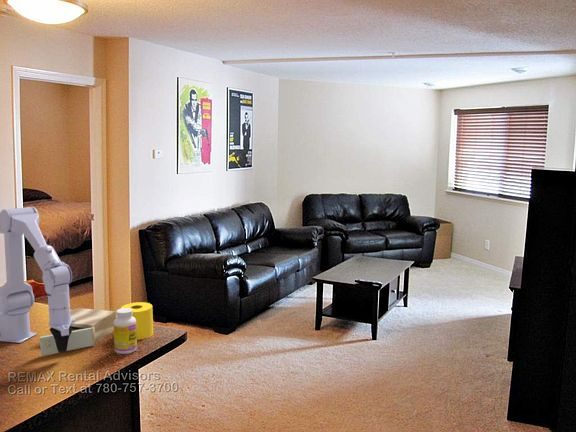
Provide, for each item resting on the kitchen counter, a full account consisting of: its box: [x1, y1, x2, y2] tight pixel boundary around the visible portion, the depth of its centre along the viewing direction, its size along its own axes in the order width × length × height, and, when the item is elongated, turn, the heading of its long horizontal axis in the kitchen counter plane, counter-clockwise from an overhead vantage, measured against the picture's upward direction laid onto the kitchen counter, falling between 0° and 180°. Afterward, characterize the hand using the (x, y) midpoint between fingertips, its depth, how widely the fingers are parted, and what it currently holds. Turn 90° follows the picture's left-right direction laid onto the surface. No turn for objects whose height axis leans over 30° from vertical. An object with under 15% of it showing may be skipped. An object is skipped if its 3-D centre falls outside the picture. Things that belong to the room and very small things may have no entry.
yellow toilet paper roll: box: [120, 301, 154, 341], centre depth 179 cm, size 10×10×9 cm
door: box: [39, 327, 96, 357], centre depth 165 cm, size 16×2×6 cm, turn 122°
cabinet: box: [50, 307, 117, 344], centre depth 178 cm, size 15×14×6 cm
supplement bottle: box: [113, 307, 138, 355], centre depth 166 cm, size 7×7×13 cm
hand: (62, 351), depth 159 cm, fingers closed
